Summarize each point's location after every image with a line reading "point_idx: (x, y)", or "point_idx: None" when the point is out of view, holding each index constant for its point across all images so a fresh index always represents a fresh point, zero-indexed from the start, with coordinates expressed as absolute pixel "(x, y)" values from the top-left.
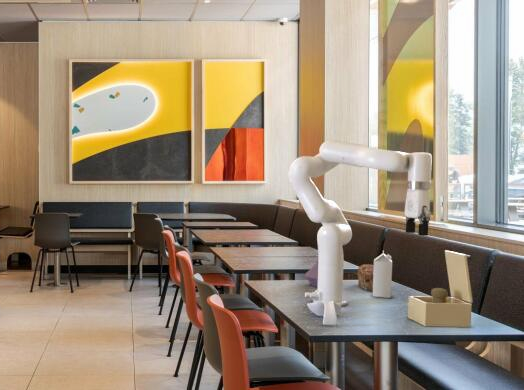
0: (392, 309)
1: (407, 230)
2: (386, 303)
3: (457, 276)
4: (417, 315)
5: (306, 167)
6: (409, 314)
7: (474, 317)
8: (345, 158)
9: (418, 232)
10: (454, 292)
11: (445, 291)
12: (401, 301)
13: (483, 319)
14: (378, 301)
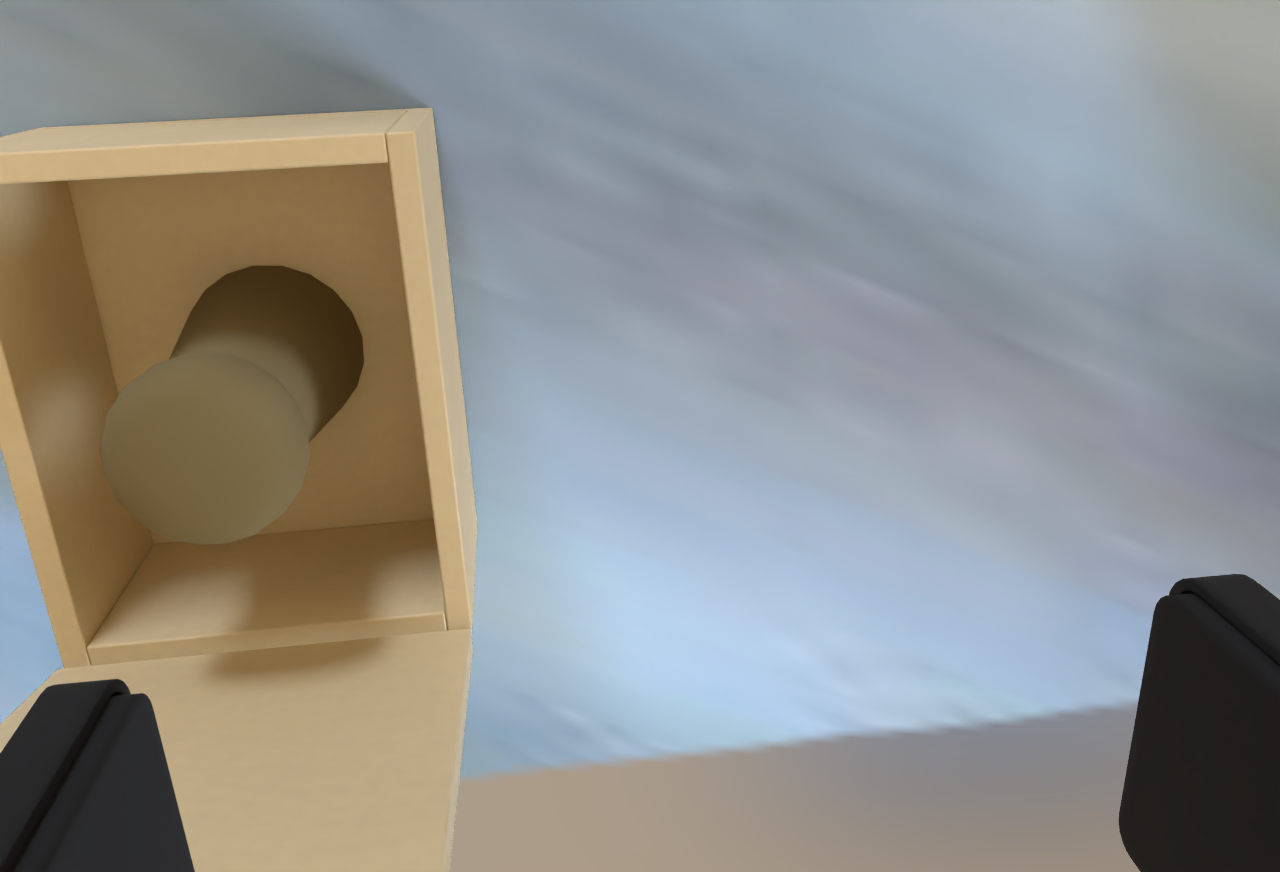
0: (840, 106)
1: (1204, 645)
2: (1138, 164)
3: (181, 779)
4: (196, 124)
5: None
6: (396, 113)
7: (564, 728)
8: None
9: (64, 737)
10: (371, 658)
11: (124, 507)
12: (1222, 364)
13: (495, 765)
14: (1242, 113)
